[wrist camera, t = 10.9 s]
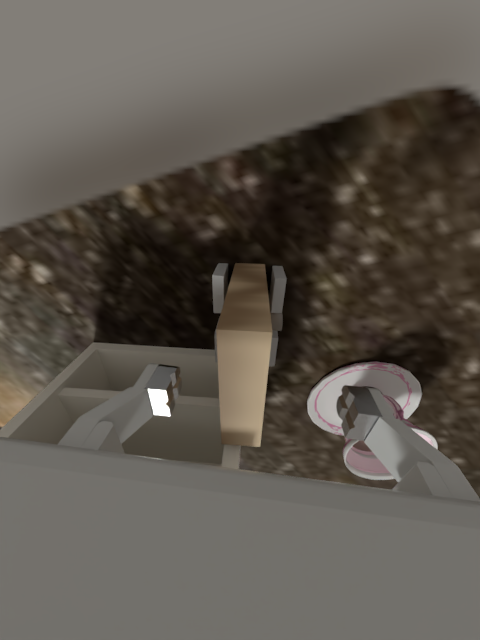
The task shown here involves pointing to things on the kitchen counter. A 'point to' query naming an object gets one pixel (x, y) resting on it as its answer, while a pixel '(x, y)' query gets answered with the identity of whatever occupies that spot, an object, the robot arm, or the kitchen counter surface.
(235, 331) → the door
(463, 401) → the kitchen counter surface
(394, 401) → the teacup
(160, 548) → the robot arm
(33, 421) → the cabinet
